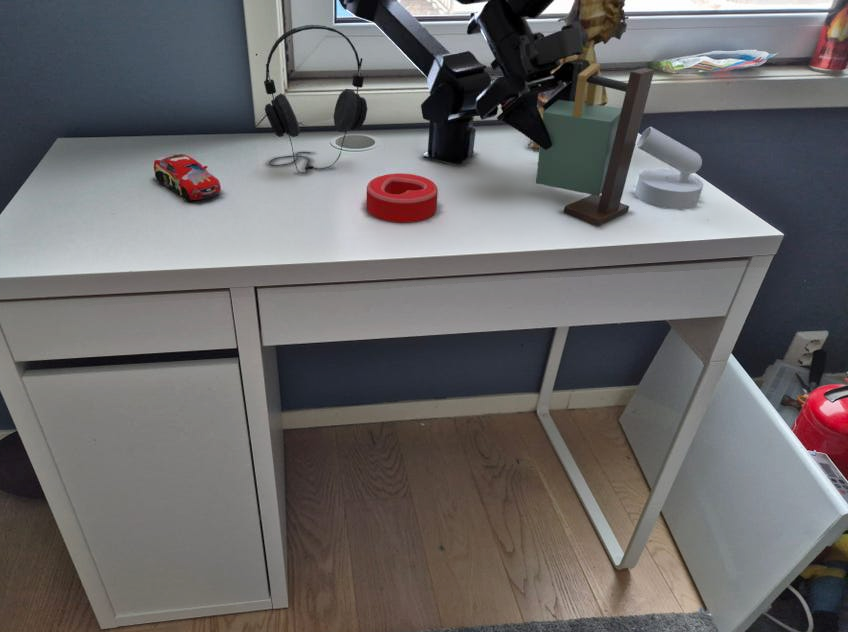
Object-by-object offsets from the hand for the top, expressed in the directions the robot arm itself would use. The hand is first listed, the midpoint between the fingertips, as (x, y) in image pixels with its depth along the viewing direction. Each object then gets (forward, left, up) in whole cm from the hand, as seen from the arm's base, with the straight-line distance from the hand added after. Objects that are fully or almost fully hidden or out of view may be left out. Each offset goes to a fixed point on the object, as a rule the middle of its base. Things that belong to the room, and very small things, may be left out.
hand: (563, 143), depth 89 cm
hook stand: (+4, -2, -8) cm, 9 cm away
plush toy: (-5, +25, -8) cm, 27 cm away
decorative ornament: (-17, -14, -8) cm, 24 cm away
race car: (-47, -23, -8) cm, 53 cm away
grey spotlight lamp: (+14, +8, -8) cm, 18 cm away
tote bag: (+2, 0, -5) cm, 6 cm away
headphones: (-36, -6, -8) cm, 38 cm away
